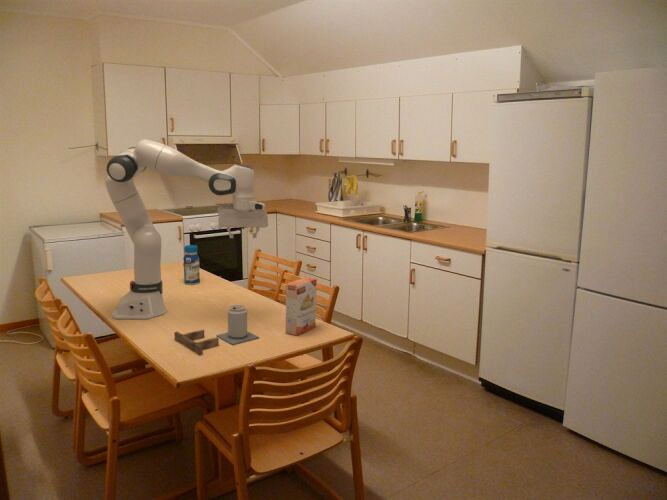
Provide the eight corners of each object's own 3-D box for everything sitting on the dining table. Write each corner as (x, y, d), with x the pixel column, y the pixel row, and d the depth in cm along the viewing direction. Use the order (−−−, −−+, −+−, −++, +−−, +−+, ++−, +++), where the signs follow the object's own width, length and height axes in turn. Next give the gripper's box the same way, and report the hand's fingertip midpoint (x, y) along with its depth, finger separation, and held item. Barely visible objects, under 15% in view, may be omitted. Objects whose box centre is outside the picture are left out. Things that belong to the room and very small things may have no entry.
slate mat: (232, 345, 215) (232, 343, 214) (216, 336, 223) (216, 335, 223) (259, 338, 222) (259, 336, 222) (242, 330, 231) (242, 328, 231)
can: (229, 332, 226) (228, 303, 224) (248, 332, 227) (247, 303, 224) (227, 339, 219) (226, 309, 216) (246, 339, 219) (246, 309, 217)
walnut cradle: (199, 355, 205) (199, 347, 204) (174, 339, 219) (174, 332, 219) (224, 348, 211) (223, 341, 210) (198, 333, 226) (197, 326, 225)
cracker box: (297, 336, 225) (297, 285, 221) (284, 333, 228) (285, 283, 224) (316, 326, 237) (317, 278, 233) (304, 324, 240) (305, 276, 236)
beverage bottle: (193, 280, 306) (191, 243, 302) (203, 282, 302) (202, 245, 297) (180, 283, 300) (179, 246, 296) (191, 285, 295) (189, 248, 291)
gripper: (217, 205, 225) (217, 239, 228) (269, 205, 230) (268, 239, 232) (217, 203, 231) (217, 236, 234) (267, 203, 236) (266, 236, 238)
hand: (243, 238), depth 233 cm, fingers open, 8 cm apart
